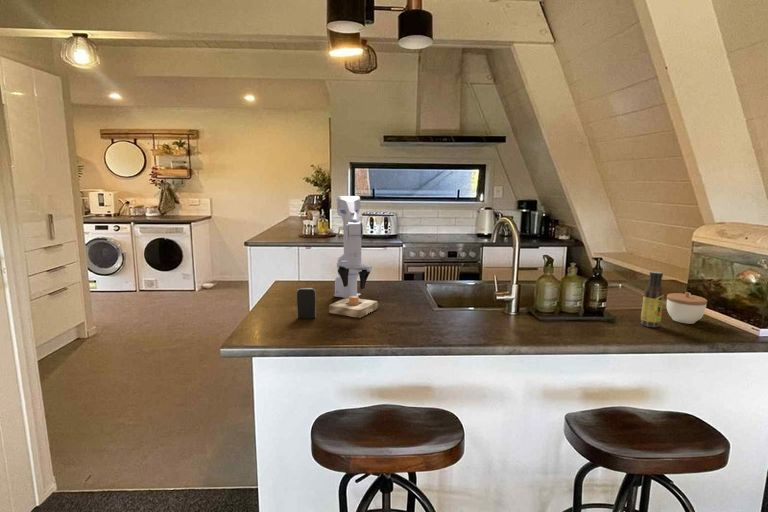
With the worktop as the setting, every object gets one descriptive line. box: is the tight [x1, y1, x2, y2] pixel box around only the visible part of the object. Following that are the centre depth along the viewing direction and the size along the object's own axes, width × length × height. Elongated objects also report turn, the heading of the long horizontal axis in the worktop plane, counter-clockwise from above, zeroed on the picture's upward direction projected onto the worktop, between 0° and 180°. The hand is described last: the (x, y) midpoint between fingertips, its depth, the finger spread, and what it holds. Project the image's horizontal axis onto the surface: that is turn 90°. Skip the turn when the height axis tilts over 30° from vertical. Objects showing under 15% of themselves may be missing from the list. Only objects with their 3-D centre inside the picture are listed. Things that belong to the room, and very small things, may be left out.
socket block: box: [328, 297, 379, 319], centre depth 176 cm, size 14×14×3 cm
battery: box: [296, 287, 317, 320], centre depth 166 cm, size 7×4×11 cm, turn 95°
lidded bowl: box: [666, 291, 708, 325], centre depth 168 cm, size 13×13×11 cm
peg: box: [349, 296, 360, 306], centre depth 176 cm, size 4×4×6 cm
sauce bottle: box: [640, 270, 665, 328], centre depth 161 cm, size 6×6×20 cm
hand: (353, 287), depth 174 cm, fingers open, 7 cm apart
